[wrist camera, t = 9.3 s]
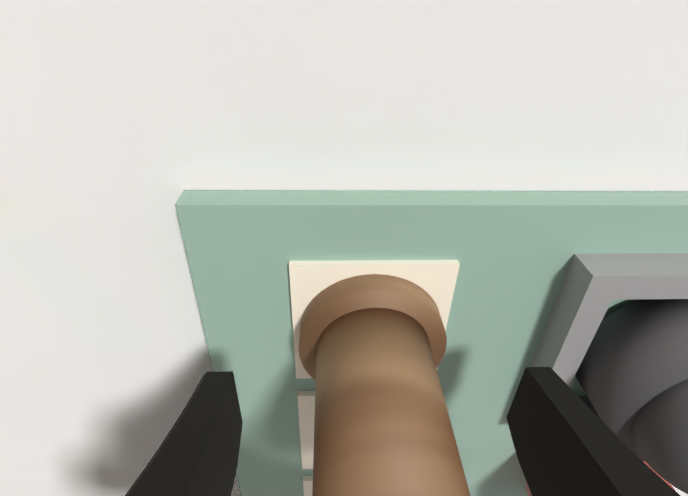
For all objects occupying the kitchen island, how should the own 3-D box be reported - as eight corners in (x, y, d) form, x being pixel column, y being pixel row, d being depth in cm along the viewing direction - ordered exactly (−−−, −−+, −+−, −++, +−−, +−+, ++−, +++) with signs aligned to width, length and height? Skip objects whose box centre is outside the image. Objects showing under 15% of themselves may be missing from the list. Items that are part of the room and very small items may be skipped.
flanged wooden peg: (429, 376, 14) (479, 580, 9) (301, 376, 14) (288, 585, 9) (452, 274, 12) (533, 480, 7) (298, 273, 12) (278, 484, 7)
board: (605, 507, 22) (626, 547, 20) (253, 517, 21) (247, 559, 20) (842, 191, 12) (916, 225, 10) (183, 190, 11) (162, 226, 10)
